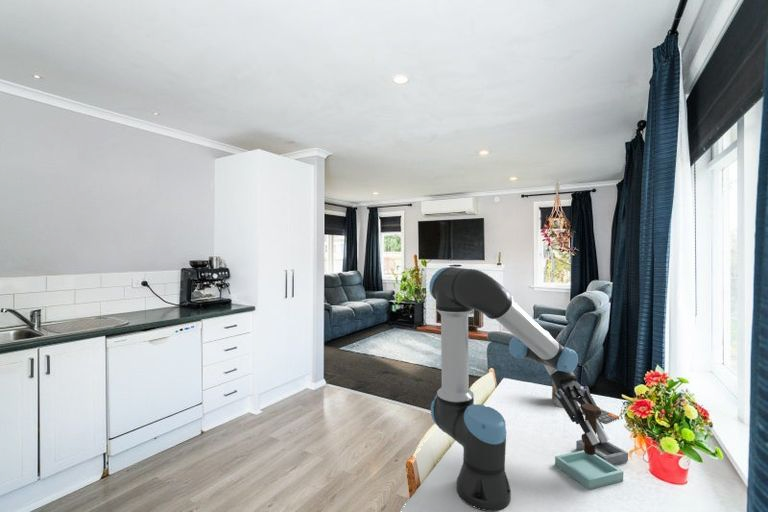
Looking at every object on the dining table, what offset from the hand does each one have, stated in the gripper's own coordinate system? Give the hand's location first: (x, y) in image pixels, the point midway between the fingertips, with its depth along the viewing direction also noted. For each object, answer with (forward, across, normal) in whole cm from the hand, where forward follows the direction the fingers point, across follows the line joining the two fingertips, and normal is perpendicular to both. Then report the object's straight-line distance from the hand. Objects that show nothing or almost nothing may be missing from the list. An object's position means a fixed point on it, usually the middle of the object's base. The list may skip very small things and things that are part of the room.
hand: (600, 442), depth 112 cm
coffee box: (-25, -33, -42) cm, 59 cm away
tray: (+6, +1, -11) cm, 12 cm away
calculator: (-16, -39, -34) cm, 54 cm away
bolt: (+1, 0, -7) cm, 7 cm away
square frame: (+1, -12, -15) cm, 20 cm away
